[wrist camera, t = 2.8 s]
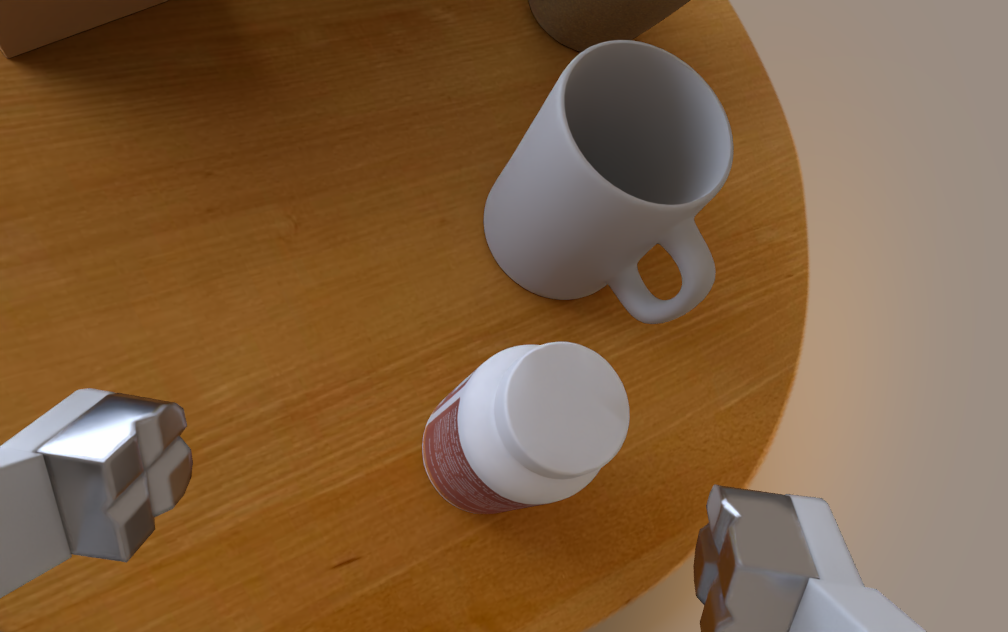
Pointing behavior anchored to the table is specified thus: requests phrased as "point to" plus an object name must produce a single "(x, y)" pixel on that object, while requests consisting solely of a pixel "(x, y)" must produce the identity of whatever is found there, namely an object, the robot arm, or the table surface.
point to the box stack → (57, 20)
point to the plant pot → (599, 19)
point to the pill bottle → (526, 428)
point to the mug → (613, 181)
